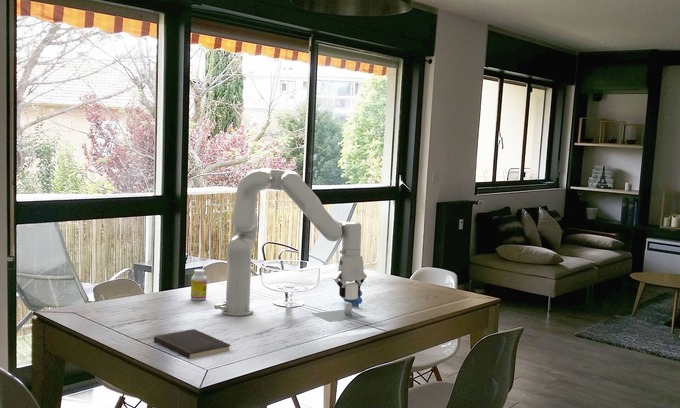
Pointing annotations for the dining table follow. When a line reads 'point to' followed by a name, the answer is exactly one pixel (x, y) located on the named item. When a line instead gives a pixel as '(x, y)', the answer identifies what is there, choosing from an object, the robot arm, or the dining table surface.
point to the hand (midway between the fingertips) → (349, 295)
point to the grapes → (355, 301)
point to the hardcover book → (191, 343)
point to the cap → (351, 290)
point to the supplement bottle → (198, 285)
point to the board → (339, 314)
